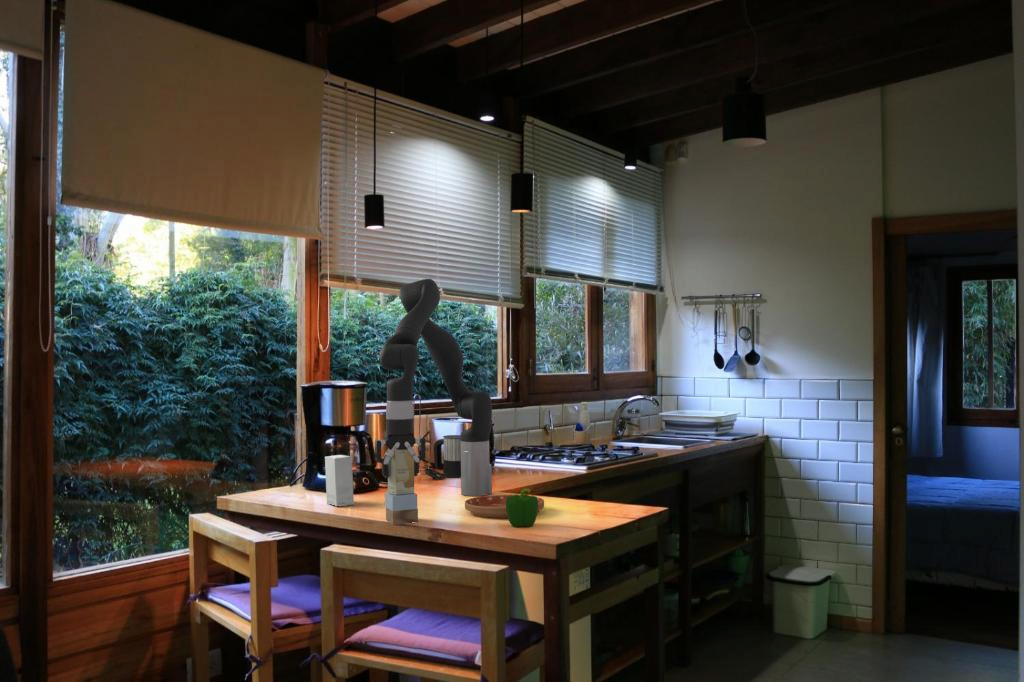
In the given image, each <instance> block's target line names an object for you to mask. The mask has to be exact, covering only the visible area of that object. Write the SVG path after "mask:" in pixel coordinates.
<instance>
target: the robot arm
mask: <svg viewBox="0 0 1024 682" xmlns="http://www.w3.org/2000/svg"><path fill="white" fill-rule="evenodd" d="M440 294H441V293H440V288H439V287H438V284H437V283H436V282H435V280H433V279H431V278H424V279H420V280H417V281H413V282H410V283H407V284H405V285H402V286H400V288H399V298H400V302H401V304H402V306H403V308H404V310H405V313H406V314H405V315H404V316H403V317H402V319H400V321H399V322H398V324H397V326H396V329H395V331H394V334H393V335H392V336H391V337H390V338H389V339H388V340H387V341H386V342H385V343H384V344H383V346H382V348H381V349H380V352H379V357H378V359H379V363H380V365H381V367H383V368H384V369H385V370H388V371H398V370H399V371H402V370H403V374H402V375H401V376H400V377H395V378H391V379H389V380H388V381H387V383H386V407H385V422H386V423H385V425H386V428H385V430H386V431H385V434H386V437H385V439H380V440H379V439H375V440H374V461H375V462H376V463H379V464H381V474H382V476H383V478H385V479H388V478H389V465H388V462H389V460H390V458H391V457H392V456H393V455H394V450H403V449H407V450H408V451H409V452H410V454H411V455H412V457H413V459H414V477H417V476H418V474H419V473H420V462H421V461H424V460H426V458H427V454H426V449H427V448H426V438H425V437H421V436H420V437H418V438H417V437H415V427H414V426H415V420H414V419H415V412H414V401H413V400H414V399H413V396H414V395H413V388H414V387H413V386H414V385H413V384H414V380H415V379H414V378H415V373H416V369H417V366H418V363H419V354H420V353H419V350H418V348H417V347H418V343H419V341H420V337H421V338H422V340H423V343H424V344H425V346H426V348H427V351H428V353H429V355H430V357H431V359H432V361H433V363H434V365H435V367H436V368H437V370H438V372H439V374H440V376H441V378H442V381H443V383H444V385H445V386H446V389H447V392H448V394H449V397H450V400H451V402H452V405H453V408H454V411H455V412H456V414H457V415H458V417H460V418H462V419H465V420H471V424H470V427H469V428H467V429H465V430H462V431H461V432H460V435H461V478H460V494H461V495H462V496H469V497H481V496H489V495H492V494H493V486H492V485H493V477H492V476H493V473H492V472H493V467H492V464H491V463H490V436H491V435H490V434H491V432H492V421H493V420H492V418H493V417H492V416H493V403H492V398H491V396H490V394H489V393H488V392H486V391H482V390H470V389H469V388H468V386H467V385H466V383H465V381H464V380H465V379H464V377H463V367H464V354H463V352H462V350H461V347H460V346H459V343H458V341H457V340H456V338H455V337H454V336H453V335H452V334H451V333H450V332H449V331H447V330H446V329H445V328H442V327H441V326H440V325H437V324H436V322H434V321H433V320H432V319H430V318H431V316H432V314H433V313H434V312H435V310H436V308H438V306H439V304H440V301H441V295H440ZM415 443H416V445H417V446H418V455H417V454H416V451H415V449H414V448H413V447H414V446H415ZM384 445H385V446H386V447H387V450H386V451H385V453H384V456H383V457H382V449H383V448H384ZM388 449H389V450H390V452H389V453H388ZM413 449H414V450H413Z"/></svg>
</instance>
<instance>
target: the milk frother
mask: <svg viewBox="0 0 1024 682" xmlns="http://www.w3.org/2000/svg"><path fill="white" fill-rule="evenodd" d="M442 447H443V458H442ZM433 459H434V460H433V462H434V463H433V464H434V467H435V469H440V468H443V469H442V470H443V472H439V471H437V470H435V469H433V468H432V469H431V468H425V469H424V470H423V472H424V474H425V475H426V476H428V477H430V478H432V480H437V479H438V480H441V479H444V478H448V479H449V478H451V479H452V478H453V479H455V478H457V479H458V478H459V479H461V434H448V435H443V436H442V438H440V439H438V440H436V441H435V442H434V444H433ZM442 466H443V467H442Z"/></svg>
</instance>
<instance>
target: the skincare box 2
mask: <svg viewBox="0 0 1024 682" xmlns="http://www.w3.org/2000/svg"><path fill="white" fill-rule="evenodd" d="M412 449H413V450H414V451H415V449H414V448H412ZM387 450H388V453H389V452H390V450H389V449H388V448H387ZM388 465H389V478H387V492H388V493H390V494H394V495H401V494H409V493H415V476H414V459H413V457H412V455H411V454H410V452H409V451H408V450H407V449H403V450H394V455H393V456H392V457H391V458H390V460H389V462H388Z"/></svg>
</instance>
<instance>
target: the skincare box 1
mask: <svg viewBox="0 0 1024 682" xmlns="http://www.w3.org/2000/svg"><path fill="white" fill-rule="evenodd" d="M352 458H353V457H352V456H351V455H345V454H335V455H328V456H324V466H325V490H326V491H325V493H326V504H327V503H329V504H328V505H330V504H332V505H331V506H333V505H335V506H334V507H337V506H339V507H348V505H350V506H354V505H355V501H354V497H355V496H354V480H353V479H354V478H353V459H352Z"/></svg>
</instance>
